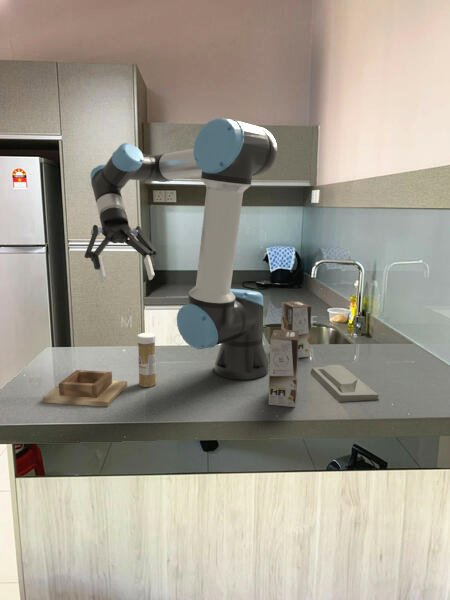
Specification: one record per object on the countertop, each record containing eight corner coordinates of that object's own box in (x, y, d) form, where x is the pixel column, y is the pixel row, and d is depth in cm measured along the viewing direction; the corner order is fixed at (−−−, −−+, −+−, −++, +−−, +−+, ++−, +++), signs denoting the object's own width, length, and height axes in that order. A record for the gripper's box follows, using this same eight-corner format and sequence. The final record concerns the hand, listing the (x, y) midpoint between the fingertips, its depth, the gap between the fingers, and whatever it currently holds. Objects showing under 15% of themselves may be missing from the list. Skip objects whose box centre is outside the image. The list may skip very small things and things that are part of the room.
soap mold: (338, 404, 109) (339, 390, 108) (309, 374, 128) (310, 362, 128) (378, 401, 111) (379, 388, 110) (344, 372, 130) (345, 361, 129)
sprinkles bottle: (135, 384, 119) (133, 334, 117) (148, 379, 123) (147, 331, 120) (146, 389, 116) (145, 338, 114) (160, 384, 120) (159, 334, 117)
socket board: (127, 385, 119) (126, 370, 118) (107, 406, 106) (107, 389, 105) (68, 382, 121) (67, 366, 120) (42, 402, 108) (41, 385, 107)
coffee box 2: (295, 407, 106) (298, 340, 103) (267, 405, 107) (269, 338, 104) (297, 392, 115) (299, 329, 111) (271, 390, 116) (273, 328, 113)
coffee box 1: (310, 357, 142) (312, 306, 139) (291, 358, 140) (292, 307, 137) (297, 348, 151) (299, 300, 147) (279, 350, 149) (280, 301, 146)
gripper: (149, 223, 141) (165, 283, 133) (65, 220, 128) (78, 287, 120) (157, 208, 135) (175, 269, 128) (70, 203, 122) (84, 272, 114)
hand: (128, 278), depth 124 cm, fingers open, 13 cm apart
